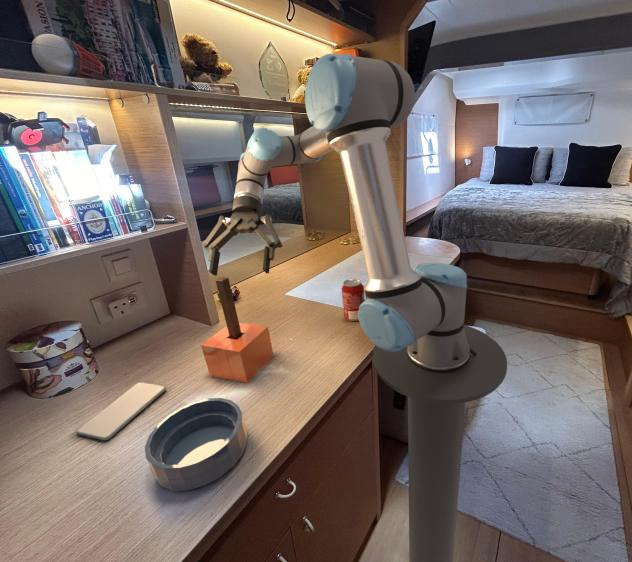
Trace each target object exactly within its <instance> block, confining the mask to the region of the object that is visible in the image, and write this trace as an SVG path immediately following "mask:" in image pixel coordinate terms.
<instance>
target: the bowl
mask: <svg viewBox="0 0 632 562" xmlns="http://www.w3.org/2000/svg"><path fill="white" fill-rule="evenodd" d="M247 444H248V430H247V427H246V423H245V419H244V416H243V412H242V410H241V408H240V406H239V404H237V403H236V402H234V401H233V400H231V399H227V398H223V397H210V398H205V399H201V400H195V401H193V402H190V403H188V404H185V405H184V406H180V408H177V409H176V410H174V411H173V412H171V413H170V414H168V415H167V416H166V417H165V418H163V419H162V421H160V422H159V423H158V424H156V426H155V427H154V428H153V430H152V431H151V433H150V434H149V435H148V437H147V440H146V443H145V446H144V453H145V454H144V455H145V459H146V462H147V464H148V466H149V468H150V470H151V473H152V475H153V477H154V479H155V480H156V482H157V483H158V484H159V485H160V486H161V487H162V488H164V489H167V490H169V491H174V492H180V491H183V492H184V491H191V490H195V489H198V488H200V487H204V486H206V485H208V484H210V483H212V482H213V481H216V480H217V479H219V478H221V477H222V476H224V474H226V473H227V472H228V471H230V470H231V469H232V468H233V467H235V465H236V464H237V462H238V461H239V460H240V458H241V457H242V456H243V454H244V452H245V449H246V447H247Z"/></svg>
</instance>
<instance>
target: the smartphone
mask: <svg viewBox="0 0 632 562" xmlns="http://www.w3.org/2000/svg"><path fill="white" fill-rule="evenodd" d="M166 390H167V387H166V386H165V385H161V384H154V383H150V382H143V381H138V382H137V383H135V384H134V385H132V386H131V387H130V388H129V389H128V390H126V391H125V392H123V393H122V394H121V395H120V396H119V397H117V398H116V399H115V400H113V401H112V402H111V403H109V404H108V405H107V406H105V407H104V408H103V409H101V411H98V413H97V414H96V415H94V416H93V417H92V418H90V419H88V420H87V421H86V422H85V423H83V424H82V425H81V426H80V427H78V428H77V430H76V434H77V435H79V436H83V437H88V438H92V439H96V440H99V441H107V440H110V439H111V438H113V437H114V436H115V435H116V434H117V433H118V432H119V431H120V430H121V429H123V428H124V427H125V426H126V425H127V424H129V422H131V421H132V420H133V419H134V418H135V417H136V416H137V415H139V414H140V413H142V411H144V410H145V409H146V408H147V407H148V406H149V405H150V404H151V403H152V402H154V401H155V400H156V399H158V397H159V396H161V395H162V394H163V393H164V392H166Z"/></svg>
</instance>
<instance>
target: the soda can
mask: <svg viewBox="0 0 632 562" xmlns="http://www.w3.org/2000/svg"><path fill="white" fill-rule="evenodd" d="M342 284H343V285H342V287H341V296H342V297H341V299H342V308H343V317H344V319H345V320H347V321H351V322H358V321H359V318H358V310H359V307H360V305H361V304H362V303H363V302H364V301H365V300H366V296H365V291H364V286H365V285H364V284H363V283H362V280H361V279H359V278H348V279H345V280H344V281H342Z"/></svg>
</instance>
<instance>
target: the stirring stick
mask: <svg viewBox="0 0 632 562" xmlns="http://www.w3.org/2000/svg"><path fill="white" fill-rule="evenodd" d="M215 284H216V288H217V292H218V296H219V300H220V303H221V307H222V312H223V316H224V320H225V324H226V326H227V328H228V332H229V336H230V339H235V340H237V339H238V338H240V337H241V336H242V333H241V329H240V325H239V323H240V321H239V316H238V312H237V308H236V304H235V300H234V296H233V291H232V287H231V283H230V279H229V277H228V276H227V277H225V276H220V277H219V278H217V279H215Z"/></svg>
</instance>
